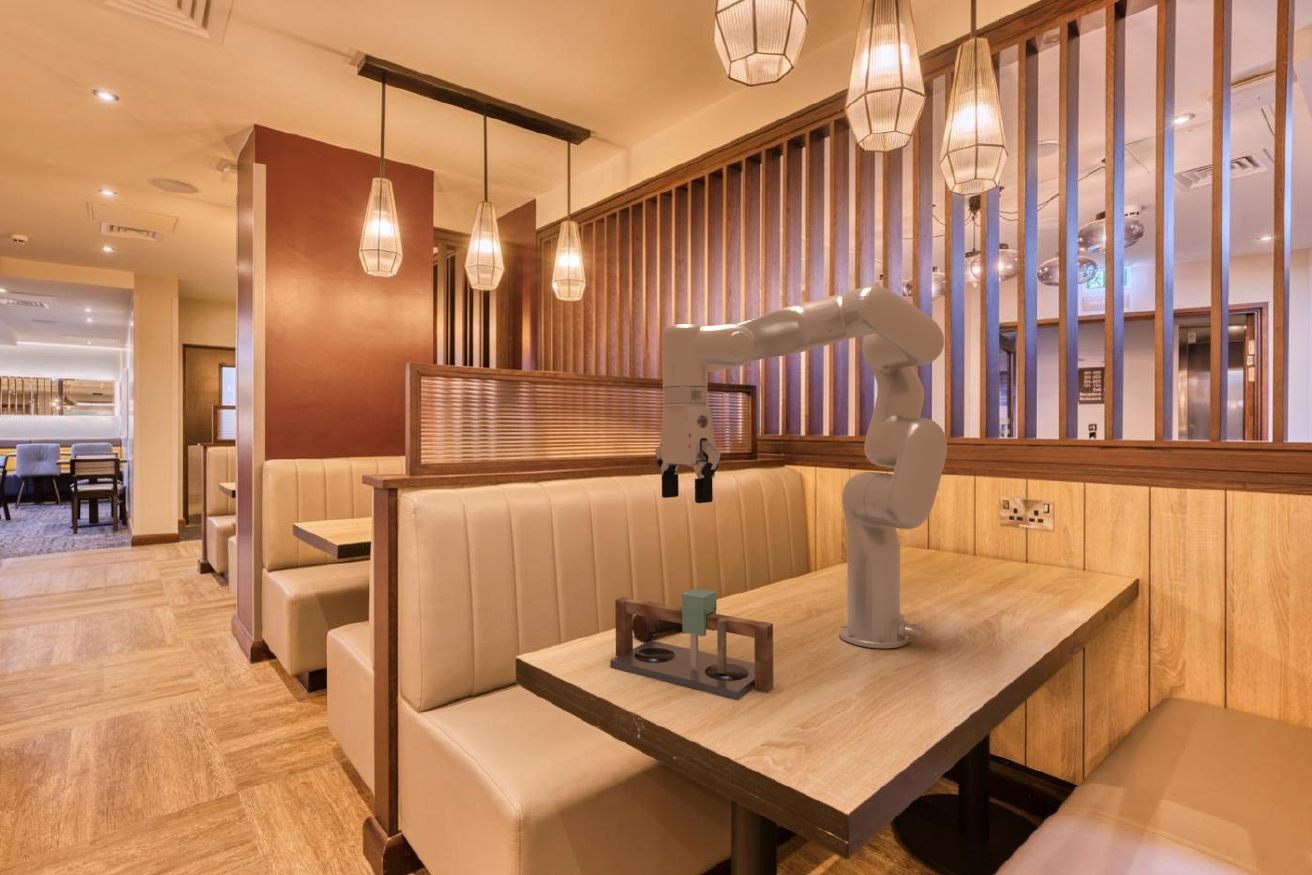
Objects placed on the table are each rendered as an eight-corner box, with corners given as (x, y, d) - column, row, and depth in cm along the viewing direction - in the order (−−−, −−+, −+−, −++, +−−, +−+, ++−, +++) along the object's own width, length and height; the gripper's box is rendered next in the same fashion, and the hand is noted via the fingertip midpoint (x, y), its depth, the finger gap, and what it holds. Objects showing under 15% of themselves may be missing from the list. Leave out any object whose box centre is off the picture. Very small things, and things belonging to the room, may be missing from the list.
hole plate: (770, 673, 107) (770, 666, 107) (737, 699, 97) (737, 691, 97) (650, 646, 120) (650, 639, 120) (610, 667, 111) (610, 659, 111)
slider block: (716, 661, 108) (716, 591, 108) (703, 669, 105) (703, 597, 104) (695, 656, 111) (695, 588, 110) (682, 664, 107) (681, 594, 107)
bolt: (701, 635, 133) (641, 649, 123) (687, 618, 136) (628, 630, 127) (711, 614, 130) (651, 626, 121) (697, 597, 134) (638, 607, 125)
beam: (773, 687, 102) (772, 623, 101) (764, 694, 99) (764, 629, 99) (623, 651, 118) (623, 596, 118) (612, 657, 115) (612, 600, 115)
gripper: (735, 396, 105) (736, 503, 105) (674, 400, 120) (675, 493, 120) (697, 396, 101) (699, 506, 101) (639, 400, 115) (640, 496, 116)
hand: (686, 499), depth 111 cm, fingers open, 9 cm apart
